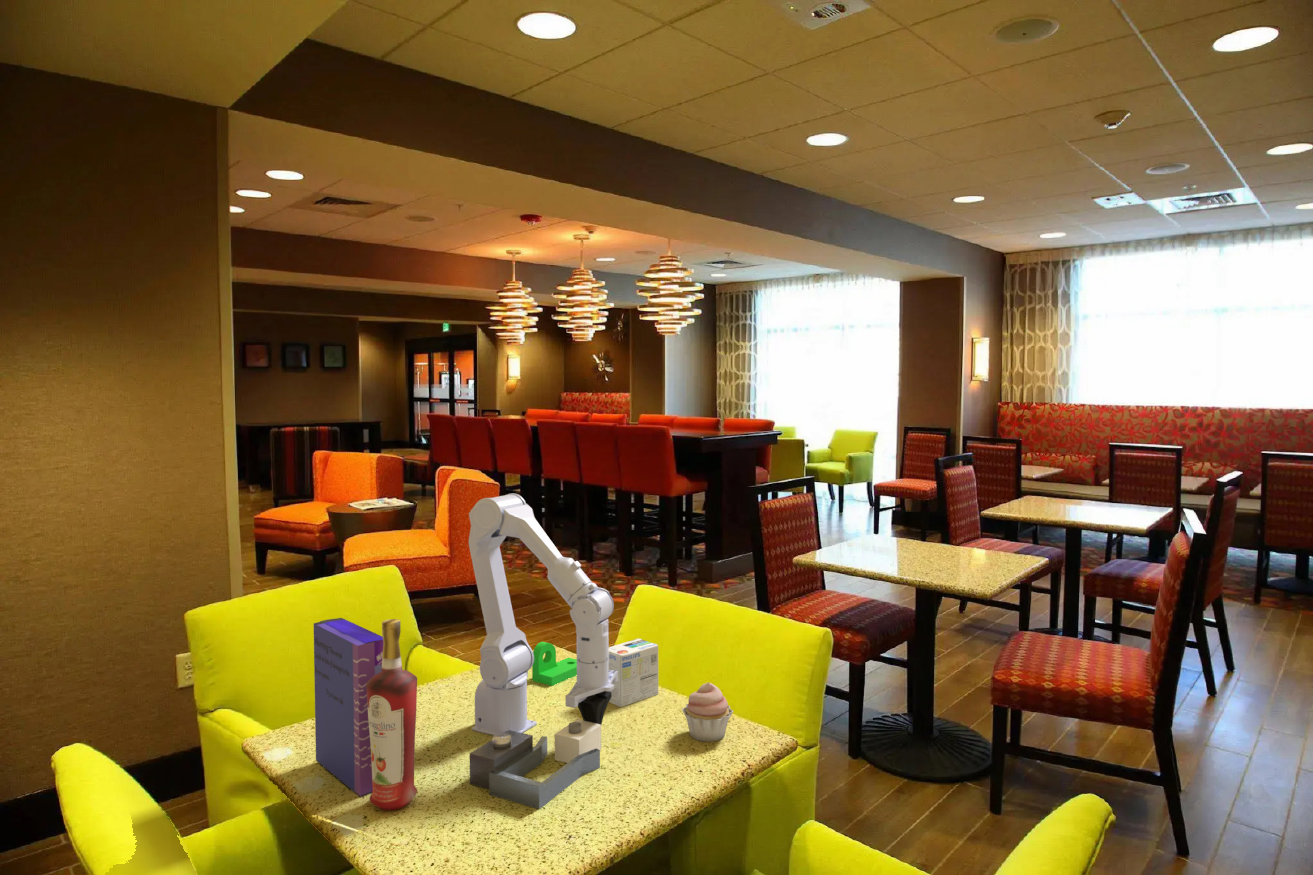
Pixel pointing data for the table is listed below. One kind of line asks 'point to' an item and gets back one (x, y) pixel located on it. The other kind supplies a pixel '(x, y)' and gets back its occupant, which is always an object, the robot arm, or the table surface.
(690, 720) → the cupcake
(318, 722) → the cereal box
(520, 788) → the motor bracket
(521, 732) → the robot arm
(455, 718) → the table surface
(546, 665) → the mechanical part
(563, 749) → the block
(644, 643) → the light bulb box
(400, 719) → the liquor
